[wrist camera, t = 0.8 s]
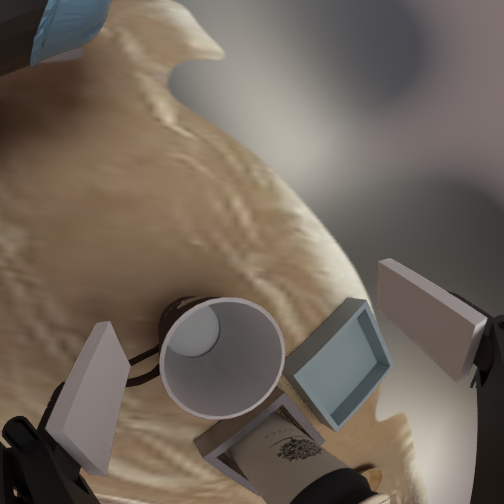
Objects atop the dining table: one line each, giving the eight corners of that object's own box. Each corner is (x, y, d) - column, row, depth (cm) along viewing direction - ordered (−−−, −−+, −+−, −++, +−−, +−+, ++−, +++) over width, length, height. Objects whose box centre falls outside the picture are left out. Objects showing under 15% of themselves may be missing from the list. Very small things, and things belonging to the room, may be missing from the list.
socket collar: (193, 440, 26) (202, 458, 22) (268, 380, 30) (284, 392, 26) (247, 480, 28) (259, 496, 25) (309, 429, 32) (325, 440, 29)
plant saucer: (379, 478, 40) (388, 483, 38) (327, 524, 35) (335, 530, 32) (365, 450, 37) (375, 456, 35) (301, 506, 32) (310, 514, 30)
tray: (277, 366, 30) (293, 375, 27) (347, 297, 35) (366, 300, 32) (320, 422, 33) (336, 432, 30) (377, 360, 37) (394, 365, 34)
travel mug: (274, 460, 30) (365, 540, 13) (218, 460, 27) (299, 567, 10) (294, 411, 31) (406, 482, 15) (236, 406, 28) (344, 508, 12)
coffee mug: (240, 293, 29) (296, 307, 19) (224, 374, 28) (271, 418, 18) (124, 268, 24) (121, 273, 15) (110, 358, 23) (105, 408, 14)
